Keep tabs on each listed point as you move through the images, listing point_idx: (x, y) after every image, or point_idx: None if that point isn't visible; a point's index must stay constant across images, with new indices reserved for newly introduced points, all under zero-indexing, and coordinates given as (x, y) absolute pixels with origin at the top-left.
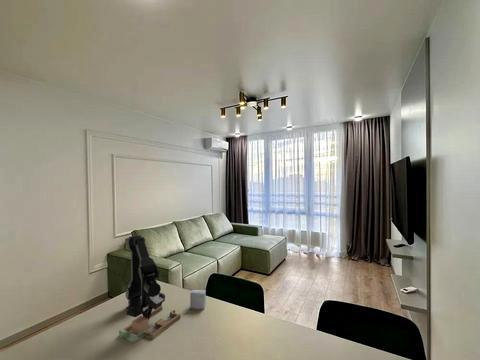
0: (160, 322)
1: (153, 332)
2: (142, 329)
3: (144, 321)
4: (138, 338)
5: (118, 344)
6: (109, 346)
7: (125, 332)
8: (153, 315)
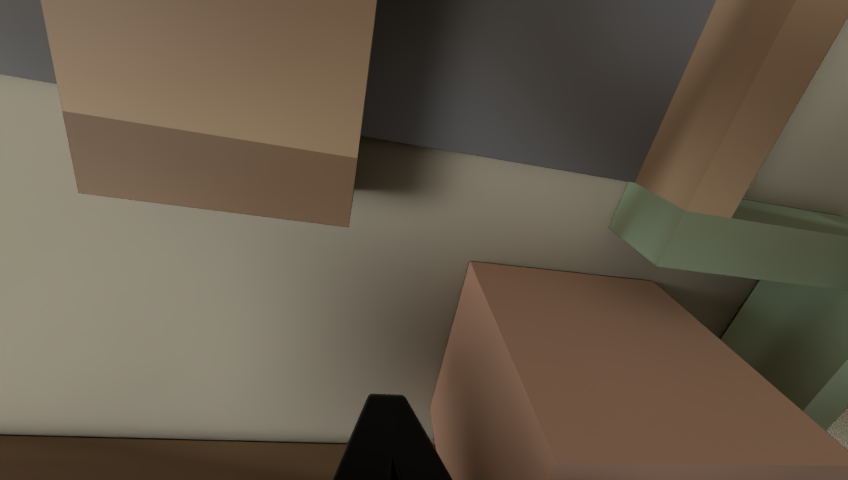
0: (261, 68)
1: (572, 67)
2: (633, 315)
3: (691, 445)
4: (817, 221)
5: None
6: (835, 431)
7: None
8: (63, 437)
